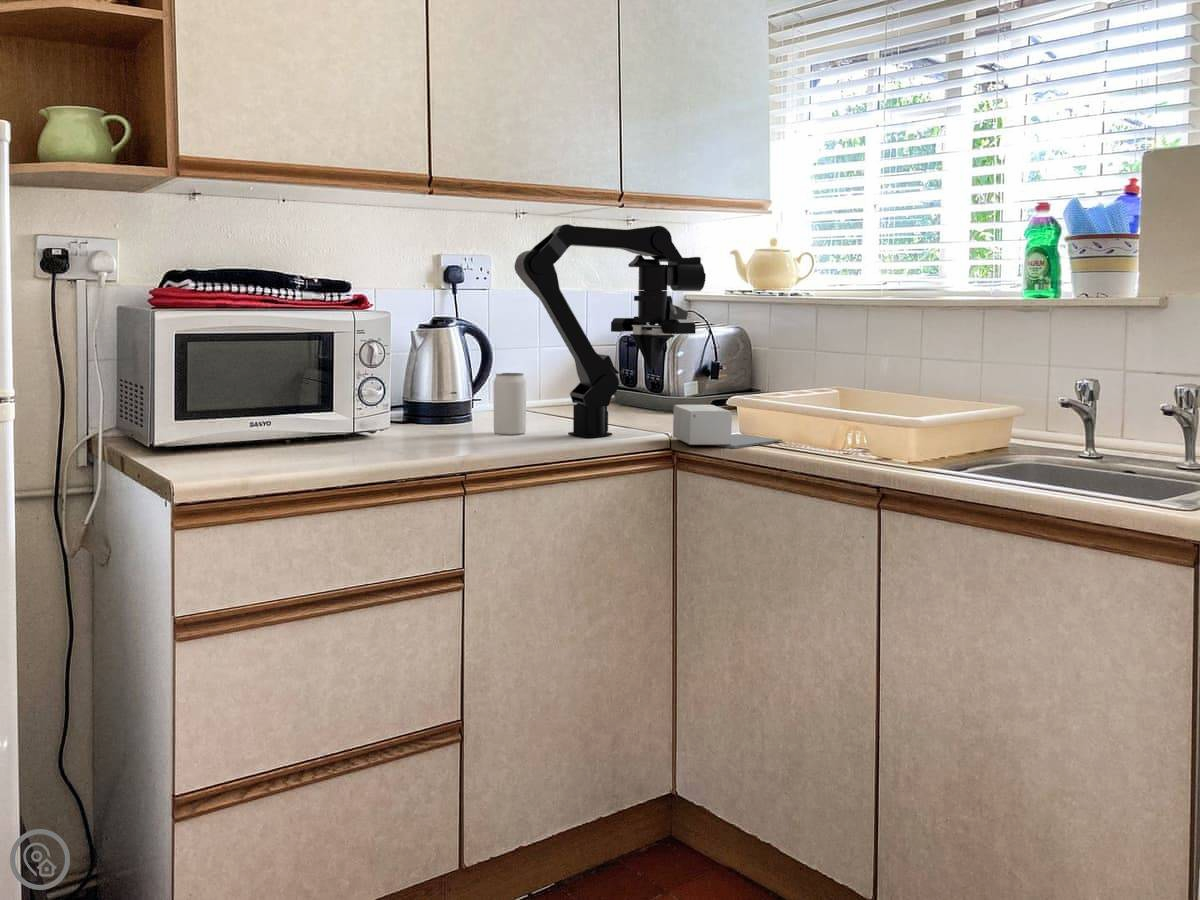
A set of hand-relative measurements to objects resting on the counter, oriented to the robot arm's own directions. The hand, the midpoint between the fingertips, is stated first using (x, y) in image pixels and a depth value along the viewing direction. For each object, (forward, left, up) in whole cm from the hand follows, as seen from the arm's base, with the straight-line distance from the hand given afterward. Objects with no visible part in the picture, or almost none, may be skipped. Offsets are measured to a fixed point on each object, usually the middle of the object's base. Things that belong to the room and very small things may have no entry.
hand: (651, 369), depth 214 cm
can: (-22, +18, -13) cm, 31 cm away
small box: (0, -11, -9) cm, 14 cm away
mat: (+3, -20, -13) cm, 24 cm away
